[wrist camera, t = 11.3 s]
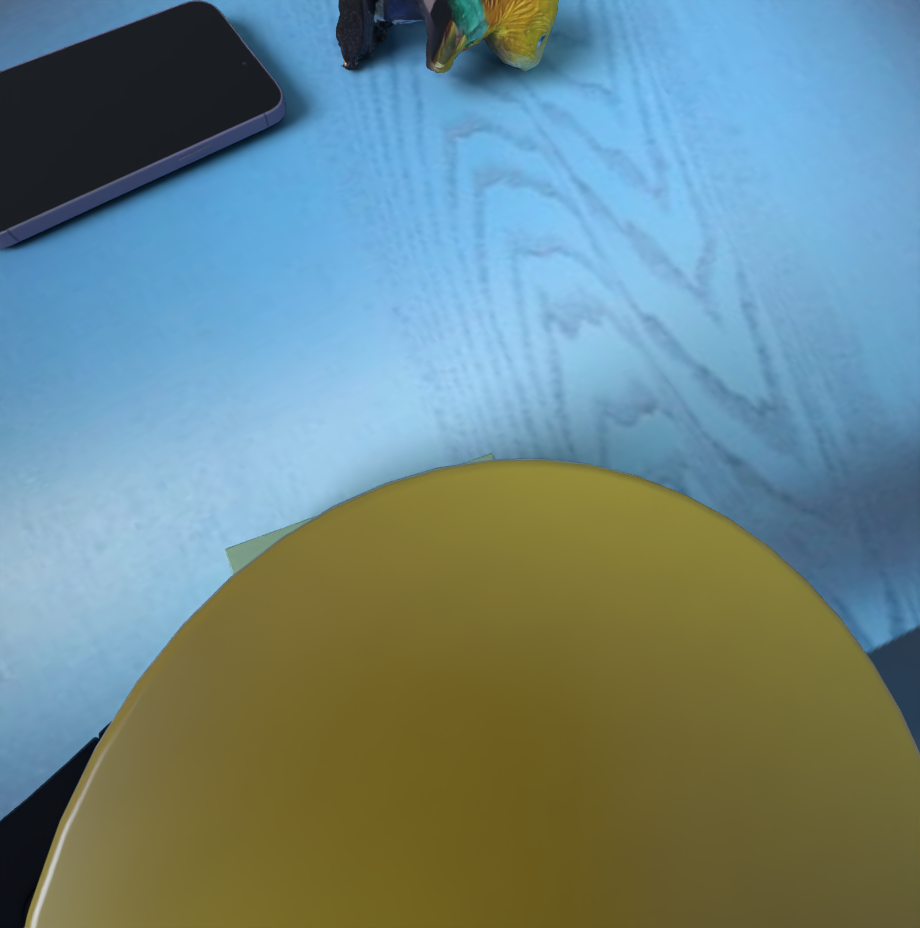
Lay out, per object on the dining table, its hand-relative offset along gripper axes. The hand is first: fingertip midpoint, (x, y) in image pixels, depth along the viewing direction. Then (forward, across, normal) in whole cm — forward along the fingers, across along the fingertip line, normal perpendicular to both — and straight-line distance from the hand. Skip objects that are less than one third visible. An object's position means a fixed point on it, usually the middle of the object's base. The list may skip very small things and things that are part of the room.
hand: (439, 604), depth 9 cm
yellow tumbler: (+4, 0, +6) cm, 7 cm away
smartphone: (+24, +17, -5) cm, 30 cm away
